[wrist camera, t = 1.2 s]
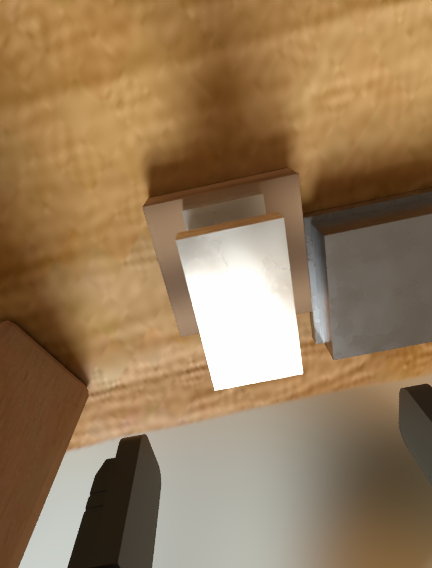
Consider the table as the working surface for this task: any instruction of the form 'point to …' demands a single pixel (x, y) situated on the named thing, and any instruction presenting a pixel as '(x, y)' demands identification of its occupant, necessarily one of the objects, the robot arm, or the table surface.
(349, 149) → the table surface
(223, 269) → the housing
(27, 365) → the wooden block
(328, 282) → the stand
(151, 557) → the robot arm
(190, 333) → the stand
